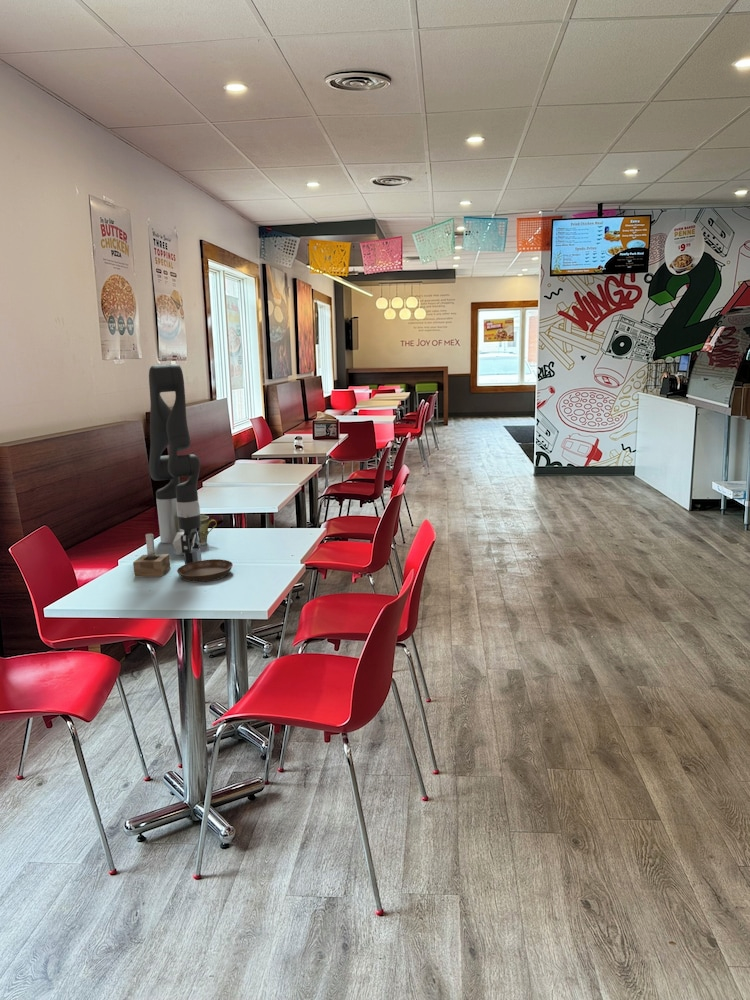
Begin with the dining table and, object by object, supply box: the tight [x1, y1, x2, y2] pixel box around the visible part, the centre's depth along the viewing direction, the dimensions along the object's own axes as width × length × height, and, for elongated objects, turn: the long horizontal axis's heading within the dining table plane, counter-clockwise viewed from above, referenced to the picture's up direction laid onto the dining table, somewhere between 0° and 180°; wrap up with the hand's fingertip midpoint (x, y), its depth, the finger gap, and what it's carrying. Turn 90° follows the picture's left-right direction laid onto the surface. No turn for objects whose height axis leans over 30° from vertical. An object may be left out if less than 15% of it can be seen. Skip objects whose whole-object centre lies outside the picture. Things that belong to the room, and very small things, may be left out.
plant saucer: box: [176, 558, 233, 583], centre depth 243 cm, size 18×18×3 cm
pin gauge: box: [145, 533, 156, 560], centre depth 247 cm, size 2×2×12 cm
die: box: [172, 532, 188, 556], centre depth 270 cm, size 8×9×10 cm
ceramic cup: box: [199, 515, 218, 547], centre depth 282 cm, size 13×10×10 cm
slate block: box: [183, 547, 203, 565], centre depth 256 cm, size 4×4×5 cm
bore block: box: [132, 553, 172, 578], centre depth 248 cm, size 9×9×5 cm
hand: (193, 560), depth 256 cm, fingers open, 7 cm apart
